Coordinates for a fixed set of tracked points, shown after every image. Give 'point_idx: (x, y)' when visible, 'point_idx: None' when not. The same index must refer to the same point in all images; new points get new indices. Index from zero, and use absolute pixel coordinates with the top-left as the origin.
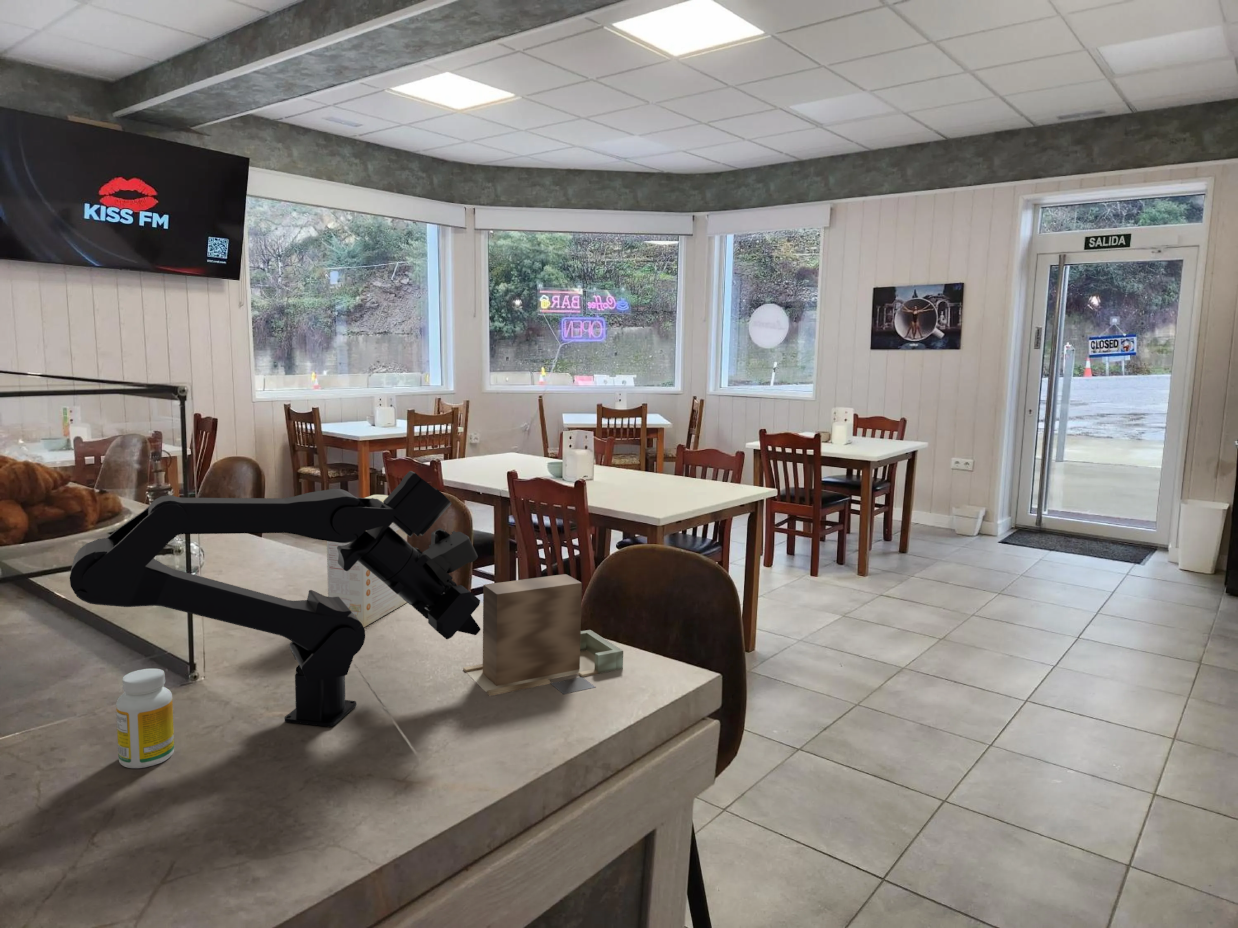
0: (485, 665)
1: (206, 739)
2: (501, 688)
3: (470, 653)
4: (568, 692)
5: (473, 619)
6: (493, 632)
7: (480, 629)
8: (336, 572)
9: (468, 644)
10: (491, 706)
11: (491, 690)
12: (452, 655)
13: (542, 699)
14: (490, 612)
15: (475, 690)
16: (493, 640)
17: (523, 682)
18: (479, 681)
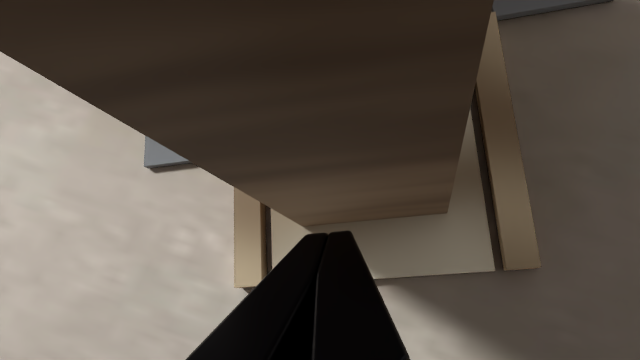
0: (322, 216)
1: None
2: (503, 205)
3: (100, 211)
4: None
5: (385, 305)
6: (397, 150)
7: (349, 231)
8: None
9: (27, 195)
10: (631, 288)
11: (512, 250)
12: (85, 279)
13: (619, 78)
14: (306, 105)
15: (440, 300)
16: (403, 166)
17: None
18: (378, 263)
